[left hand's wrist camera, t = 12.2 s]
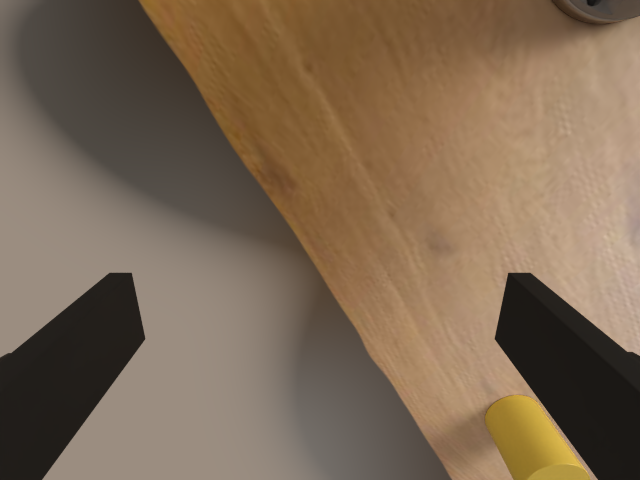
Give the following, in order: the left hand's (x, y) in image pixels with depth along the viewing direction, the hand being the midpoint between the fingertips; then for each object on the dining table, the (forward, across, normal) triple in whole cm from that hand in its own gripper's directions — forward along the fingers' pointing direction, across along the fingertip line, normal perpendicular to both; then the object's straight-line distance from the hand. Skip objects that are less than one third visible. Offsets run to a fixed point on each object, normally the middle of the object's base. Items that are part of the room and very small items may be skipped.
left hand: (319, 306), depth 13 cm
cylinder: (+29, +28, -36) cm, 54 cm away
